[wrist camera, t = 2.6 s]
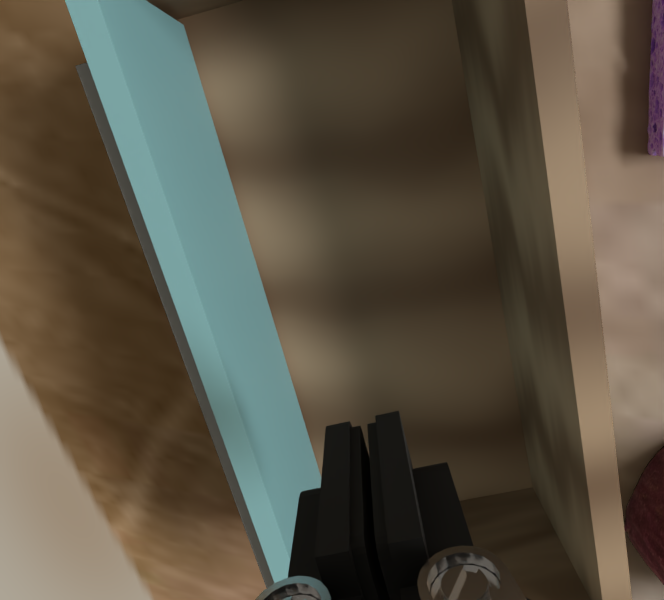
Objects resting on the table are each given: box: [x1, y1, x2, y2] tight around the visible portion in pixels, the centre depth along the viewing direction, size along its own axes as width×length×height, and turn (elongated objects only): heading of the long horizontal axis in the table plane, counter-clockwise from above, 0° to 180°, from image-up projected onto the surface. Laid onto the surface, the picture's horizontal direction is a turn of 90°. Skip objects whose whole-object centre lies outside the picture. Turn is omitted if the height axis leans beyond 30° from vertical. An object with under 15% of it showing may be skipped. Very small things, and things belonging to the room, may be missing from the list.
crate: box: [146, 0, 632, 600], centre depth 20 cm, size 27×12×10 cm, turn 14°
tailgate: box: [65, 0, 321, 588], centre depth 20 cm, size 24×1×8 cm, turn 14°
